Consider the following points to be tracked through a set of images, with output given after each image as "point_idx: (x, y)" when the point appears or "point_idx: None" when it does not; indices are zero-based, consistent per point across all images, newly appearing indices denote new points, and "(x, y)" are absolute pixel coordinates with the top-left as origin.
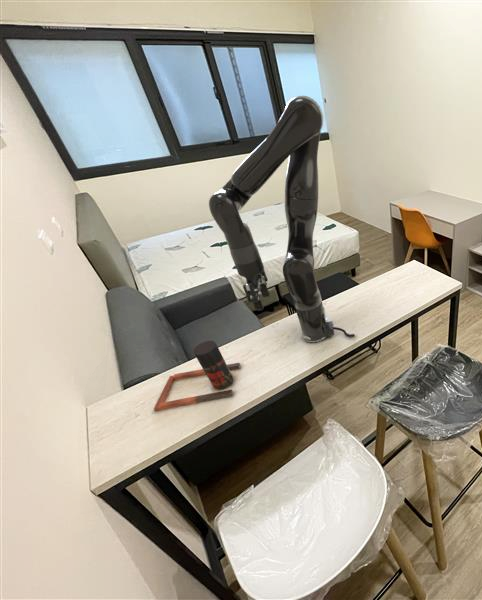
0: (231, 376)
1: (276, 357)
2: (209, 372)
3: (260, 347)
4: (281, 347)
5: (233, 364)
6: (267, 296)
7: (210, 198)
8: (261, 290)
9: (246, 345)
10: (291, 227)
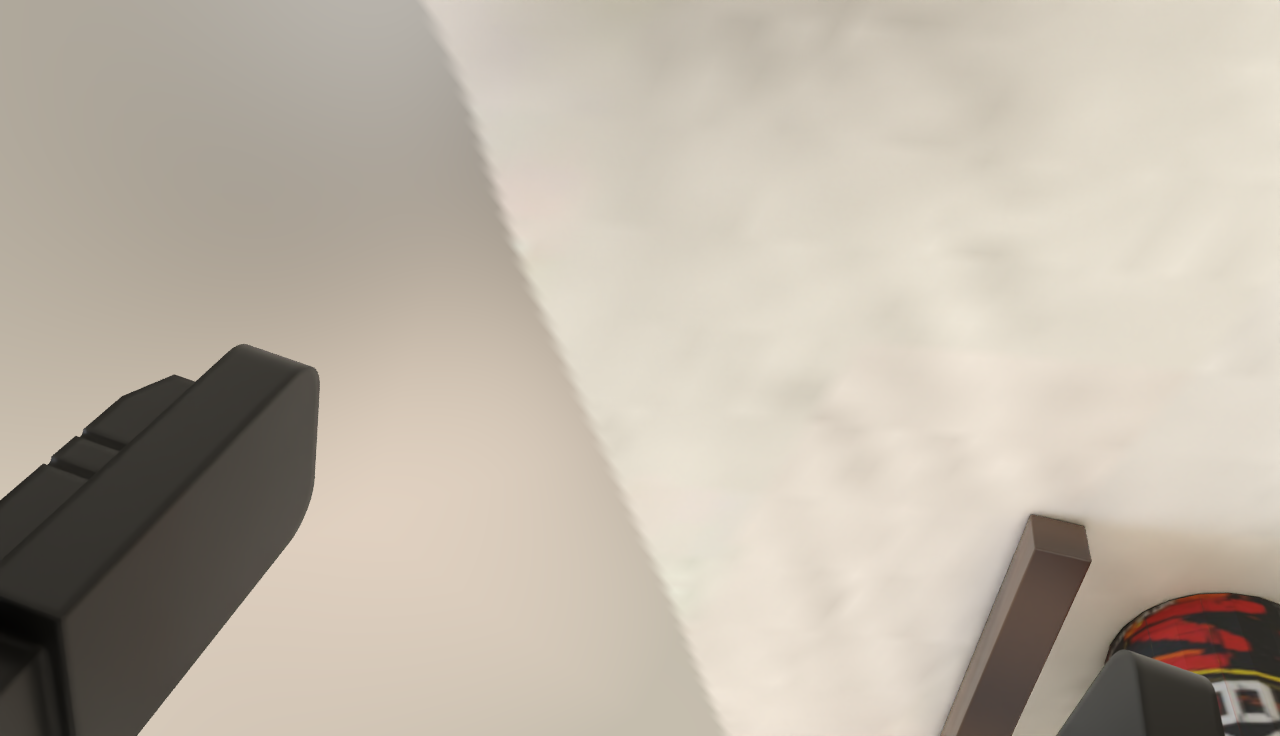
0: (1270, 644)
1: (1151, 108)
2: None
3: (793, 286)
4: (951, 11)
5: (1033, 599)
6: (318, 404)
7: None
8: (164, 674)
9: (671, 426)
10: None
